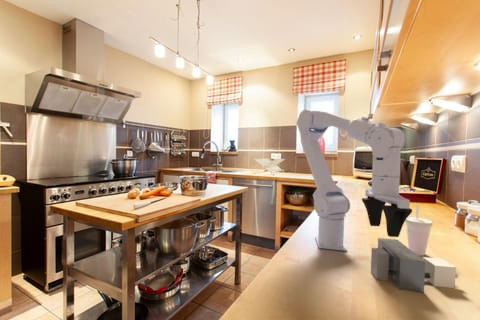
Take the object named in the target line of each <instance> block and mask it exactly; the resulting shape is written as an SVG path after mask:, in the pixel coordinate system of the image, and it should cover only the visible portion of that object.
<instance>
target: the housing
mask: <svg viewBox="0 0 480 320" xmlns="http://www.w3.org/2000/svg"><path fill="white" fill-rule="evenodd" d="M377 248H383V249H384V250H385V251H386V252H387V253H389V269H392V270H393V275H392V283H394V285H395V286H396V287H397V289H399V290H402V291H410V292H417V293H418V292H419V293H425V280H426V279H425V261H424V260H423V257H421V256H420V255H417V254H415V253H414V252H413V251H411V250H410V249H409V246H406V245H405V244H404V243H403V242H401V241H400V240H399V239H395V238H393V239H392V238H383V237H378V238H377Z"/></svg>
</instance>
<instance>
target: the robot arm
mask: <svg viewBox="0 0 480 320" xmlns="http://www.w3.org/2000/svg"><path fill="white" fill-rule="evenodd" d="M296 124H297V125H296V126H297V128H298V130H299V133H300V134H299V135H300V143H301V146H302V148H303V152H304V155H305V157H306V161H307V164H308V166H309V169H310V172H311V174H312V178H313V180H314V184H315V186H316V189H315V191H314V192H313V194H312V197H313V207H314V208H313V209H314V211H315V213H316V214H317V217H318V232H317V233H318V235H315V237H314V238H315V241H316V244H317V247H318V249H325V250H326V249H327V250H332V251H334V250H335V251H336V250H337V251H345V252H346V251H348V248H347V247H346V244H345V243H344V235H345V232H344V231H345V217H346V214H347V213H348V212H349V211H350V209H351V202H350V199H349V198H348V197H347V196H346V195H345V193H344V191H343V188H341V187H339V185H337V184H336V183H335V182H334V180H333V177H332V175H331V172H330V169H329V166H328V164H327V160H326V158H325V155H324V153H323V150H322V148H321V145H320V142H319V140H320V139H321V138H322V137H323V136H324V134H325V133H326V131H327V130H328V129H329V127H330V128H331V127H334V128H337V129H340V130H343V131H346V133H347V135H348V137H349V138H351V139H354V140H357V141H358V142H362V143H364V144H366V145H369V147H370V149H371V150H372V151H371V155H372V167H371V169H372V171H371V173H372V174H371V175H372V176H371V189H369V188H367V189H365V197H362V198H361V201H362V203H363V206H364V207H365V210H366V213H367V217H368V221H369V222H368V223H369V225H370V226H371V227H380V225H381V224H382V223H381V221H382V215H383V214H384V217H385V221H386V234H387V236H388V237H389V238H398V237H400V235H401V231H402V228H403V226H404V225H405V223H406V222H405V220H406V219H407V217H410V215H411V213H413V208H410V202H411V199H408V198H405V197H403V196H402V195H400V179H401V178H400V177H401V152H402V148H403V147H405V144H406V142H407V135H406V133H405V132H404V131H403V130H401V129H399V127H390V126H389V127H388V126H386V125H387V124H386V123H385V122H378V123H377V122H374V121H371V120H370V118H369V117H366V116H362V117H358V118H354V119H349V118H347V117H345V116H342V115H340V114H336V113H335V112H334V113H333V112H328V111H321V110H310V109H308V108H307V109H303V110H302V111H301V112H300V113H299V115H298V118H297V121H296ZM386 204H389V205H386Z"/></svg>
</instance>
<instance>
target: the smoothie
mask: <svg viewBox="0 0 480 320" xmlns="http://www.w3.org/2000/svg"><path fill="white" fill-rule="evenodd" d="M419 205H420V204H416V205H415V206H416V207H415V217H414V216H408V217H407V219H406V220H405V222H404V223H405V225H406V235H407V244H408V246H407V247H408V248H409V249H410V250H411V251H413V252H414V253H415V254H417V255H418V256H425V255H426V253H427V252H426V251H427V247H428V243H429V238H430V234H431V228H432V227H433V221H432V220H429V219H425V218H423V217H422V218H421V217H419V210H420V209H419Z"/></svg>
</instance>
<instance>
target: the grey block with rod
mask: <svg viewBox="0 0 480 320" xmlns="http://www.w3.org/2000/svg"><path fill="white" fill-rule="evenodd" d="M422 259H423V260H424V261H425V280H426V281H427V282H429V283H430V284H431V285H432V286H433V287H440V288H441V287H443V288H450V289H451V288H452V289H455V288H456V280H457V279H458V277H459V273H457V270H456V269H457V267H456V266H455V265H453V264H452V263H449V262H448V261H446V260H445V259H443V258H439V257H437V258H436V257H427V256H426V257H424V256H423V257H422ZM370 273H371V275H372V276H373V277H374V278H375V279H376V280H381V281H389V276H393V269H389V253H387V252H386V251H385V250H384V249H383V248H378V247H371V261H370Z"/></svg>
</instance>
